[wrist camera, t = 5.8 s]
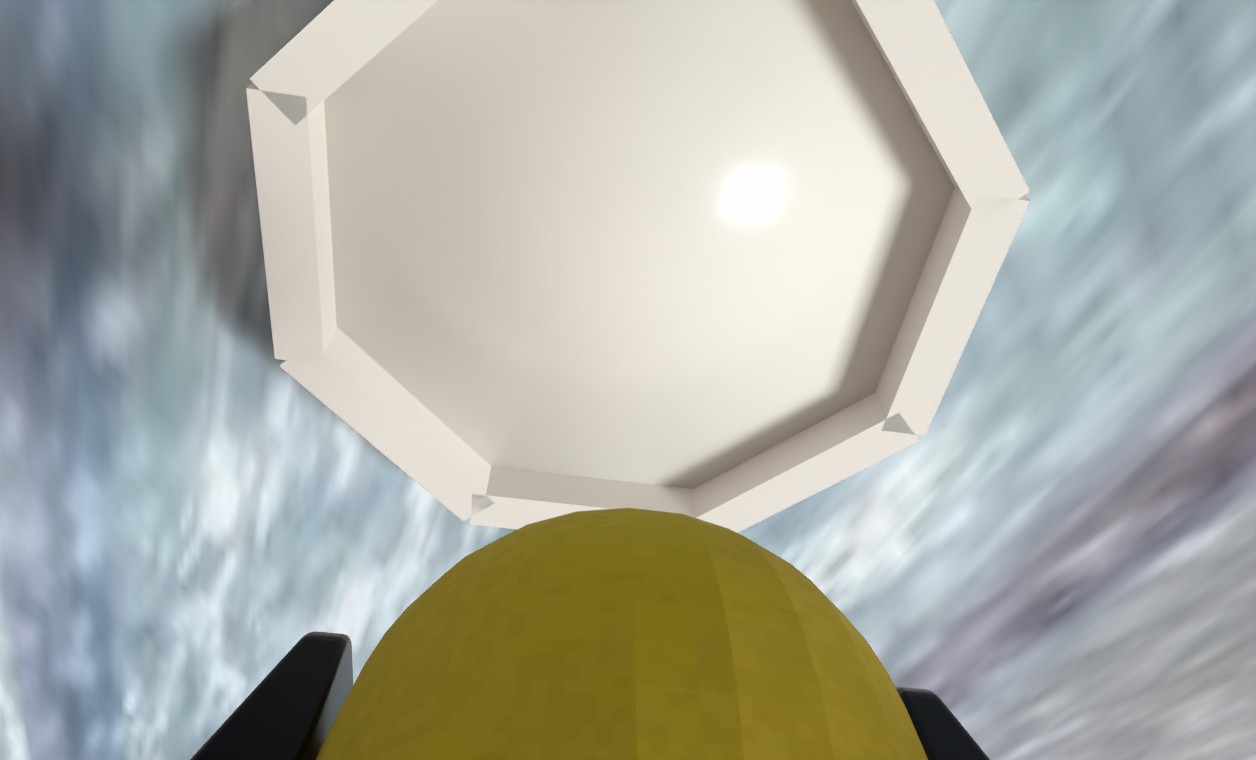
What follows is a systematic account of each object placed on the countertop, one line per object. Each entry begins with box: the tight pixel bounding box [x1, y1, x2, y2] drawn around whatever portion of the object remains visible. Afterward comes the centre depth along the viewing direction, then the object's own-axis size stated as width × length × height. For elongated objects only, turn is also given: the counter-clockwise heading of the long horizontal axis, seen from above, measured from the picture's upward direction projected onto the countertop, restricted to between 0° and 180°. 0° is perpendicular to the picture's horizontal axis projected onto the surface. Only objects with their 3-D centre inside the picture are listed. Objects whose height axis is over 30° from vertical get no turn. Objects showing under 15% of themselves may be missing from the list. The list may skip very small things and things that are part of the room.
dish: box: [246, 0, 1030, 533], centre depth 18 cm, size 14×14×2 cm
